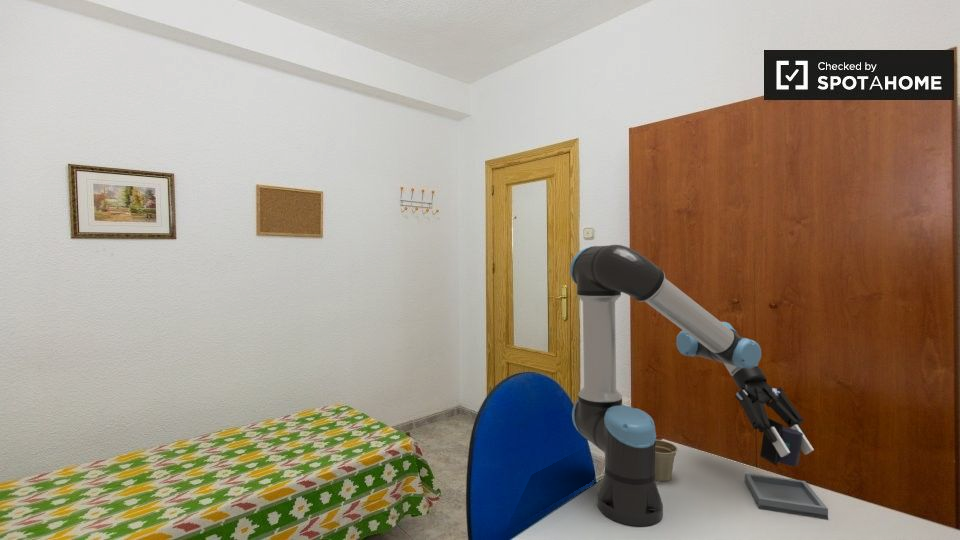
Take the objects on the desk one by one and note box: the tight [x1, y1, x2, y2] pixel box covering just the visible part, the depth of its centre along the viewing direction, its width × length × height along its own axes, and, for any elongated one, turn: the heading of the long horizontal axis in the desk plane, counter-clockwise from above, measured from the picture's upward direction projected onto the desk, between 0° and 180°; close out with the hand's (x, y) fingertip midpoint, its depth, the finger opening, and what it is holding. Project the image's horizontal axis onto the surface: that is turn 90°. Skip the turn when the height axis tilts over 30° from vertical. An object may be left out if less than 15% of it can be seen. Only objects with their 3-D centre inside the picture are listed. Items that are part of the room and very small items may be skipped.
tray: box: [744, 472, 829, 520], centre depth 111 cm, size 14×14×2 cm
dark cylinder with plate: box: [760, 417, 803, 467], centre depth 111 cm, size 8×6×10 cm
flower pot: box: [655, 439, 679, 482], centre depth 124 cm, size 9×9×9 cm
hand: (797, 453), depth 108 cm, fingers closed on dark cylinder with plate, 6 cm apart
